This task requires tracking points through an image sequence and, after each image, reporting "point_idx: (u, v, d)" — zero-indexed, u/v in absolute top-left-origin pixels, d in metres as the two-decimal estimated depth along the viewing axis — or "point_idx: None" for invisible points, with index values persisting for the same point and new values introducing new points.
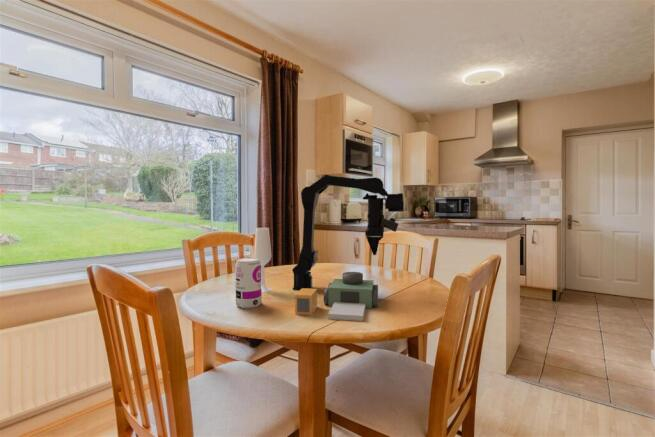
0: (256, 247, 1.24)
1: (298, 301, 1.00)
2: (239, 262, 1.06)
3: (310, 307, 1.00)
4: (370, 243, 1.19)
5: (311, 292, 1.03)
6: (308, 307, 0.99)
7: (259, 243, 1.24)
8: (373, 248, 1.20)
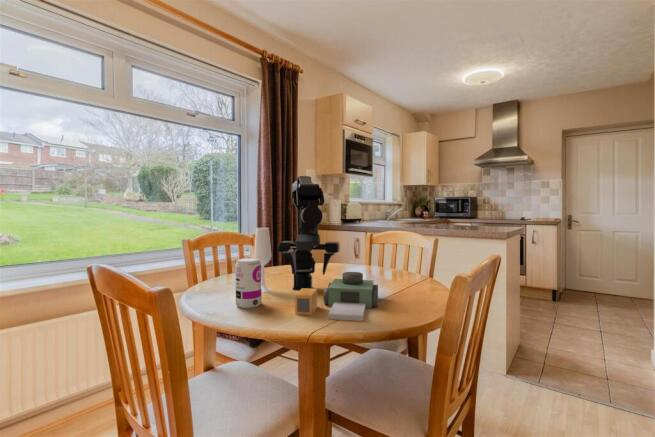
0: (256, 247, 1.24)
1: (298, 301, 1.00)
2: (239, 262, 1.06)
3: (310, 307, 1.00)
4: None
5: (311, 292, 1.03)
6: (308, 307, 0.99)
7: (259, 243, 1.24)
8: None
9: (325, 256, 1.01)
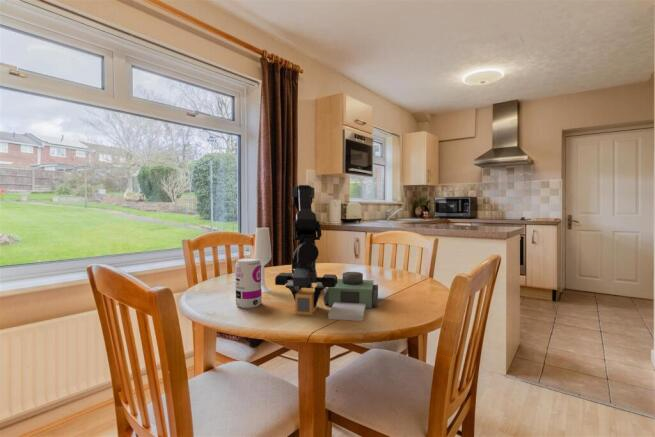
0: (256, 247, 1.24)
1: (298, 301, 1.00)
2: (239, 262, 1.06)
3: (310, 307, 1.00)
4: None
5: (311, 292, 1.03)
6: (308, 307, 1.00)
7: (259, 243, 1.24)
8: None
9: (316, 290, 1.01)
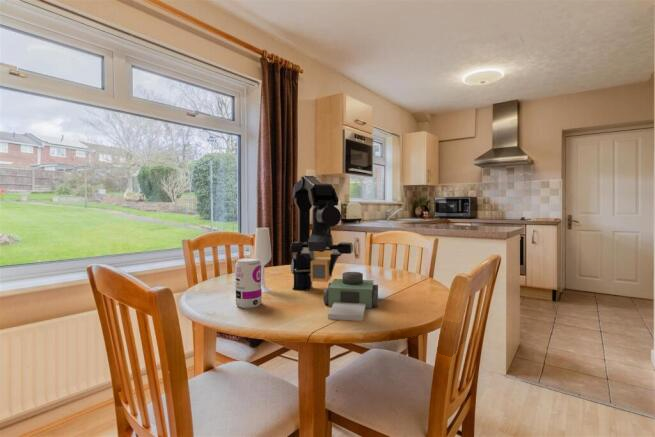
0: (256, 247, 1.24)
1: (313, 267, 0.98)
2: (239, 262, 1.06)
3: (326, 273, 0.98)
4: None
5: (326, 259, 1.01)
6: (324, 273, 0.98)
7: (259, 243, 1.24)
8: None
9: (331, 257, 0.99)
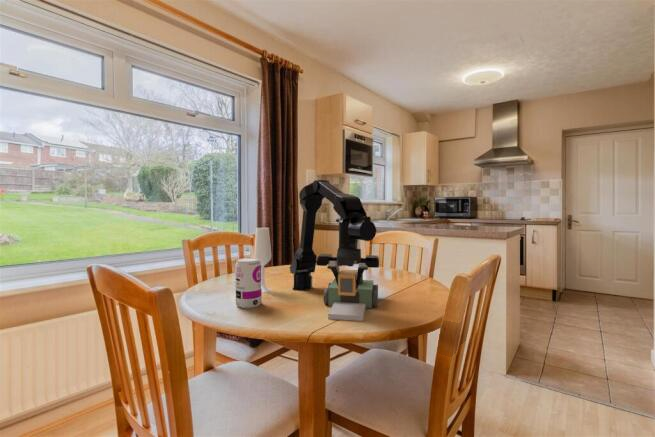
0: (256, 247, 1.24)
1: (341, 281, 0.98)
2: (239, 262, 1.06)
3: (353, 287, 0.98)
4: None
5: (353, 273, 1.01)
6: (351, 287, 0.97)
7: (259, 243, 1.24)
8: None
9: (359, 270, 0.99)
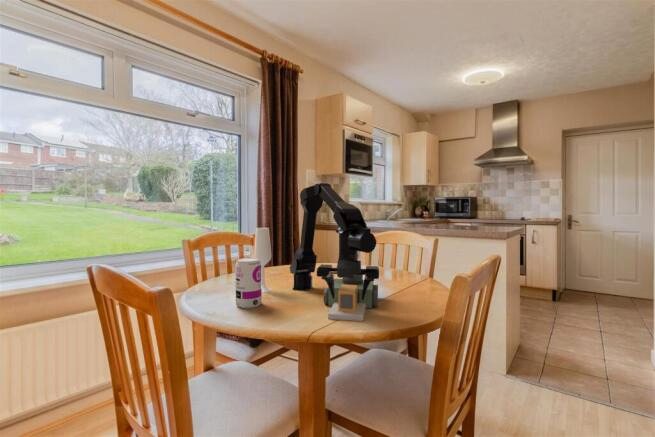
0: (256, 247, 1.24)
1: (341, 297, 0.98)
2: (239, 262, 1.06)
3: (354, 303, 0.98)
4: None
5: (353, 288, 1.01)
6: (352, 303, 0.98)
7: (259, 243, 1.24)
8: None
9: (365, 282, 0.99)
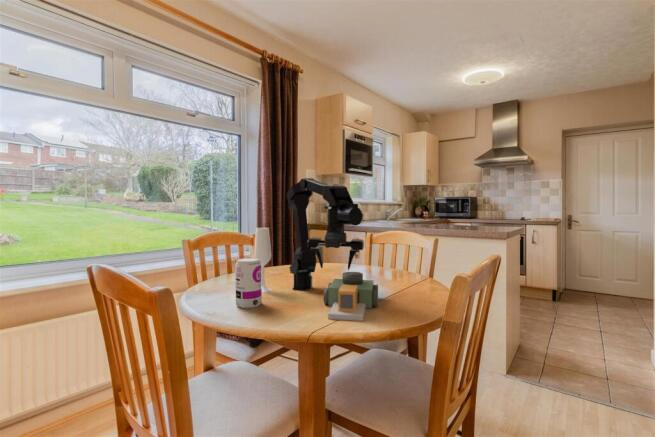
0: (256, 247, 1.24)
1: (341, 297, 0.98)
2: (239, 262, 1.06)
3: (354, 303, 0.98)
4: None
5: (353, 288, 1.01)
6: (352, 303, 0.98)
7: (259, 243, 1.24)
8: None
9: (350, 253, 1.09)
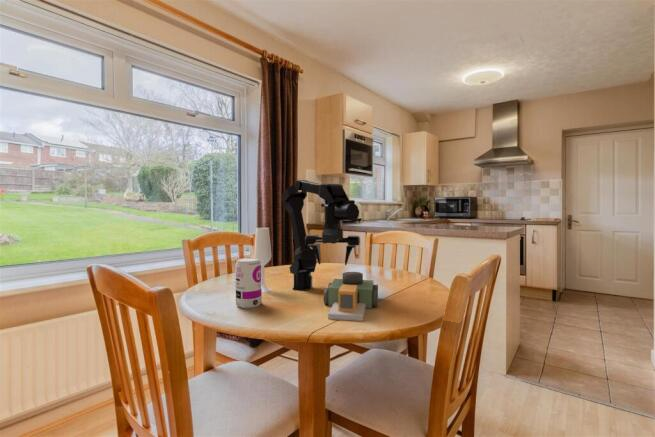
0: (256, 247, 1.24)
1: (341, 297, 0.98)
2: (239, 262, 1.06)
3: (354, 303, 0.98)
4: None
5: (353, 288, 1.01)
6: (352, 303, 0.98)
7: (259, 243, 1.24)
8: None
9: (347, 248, 1.13)
